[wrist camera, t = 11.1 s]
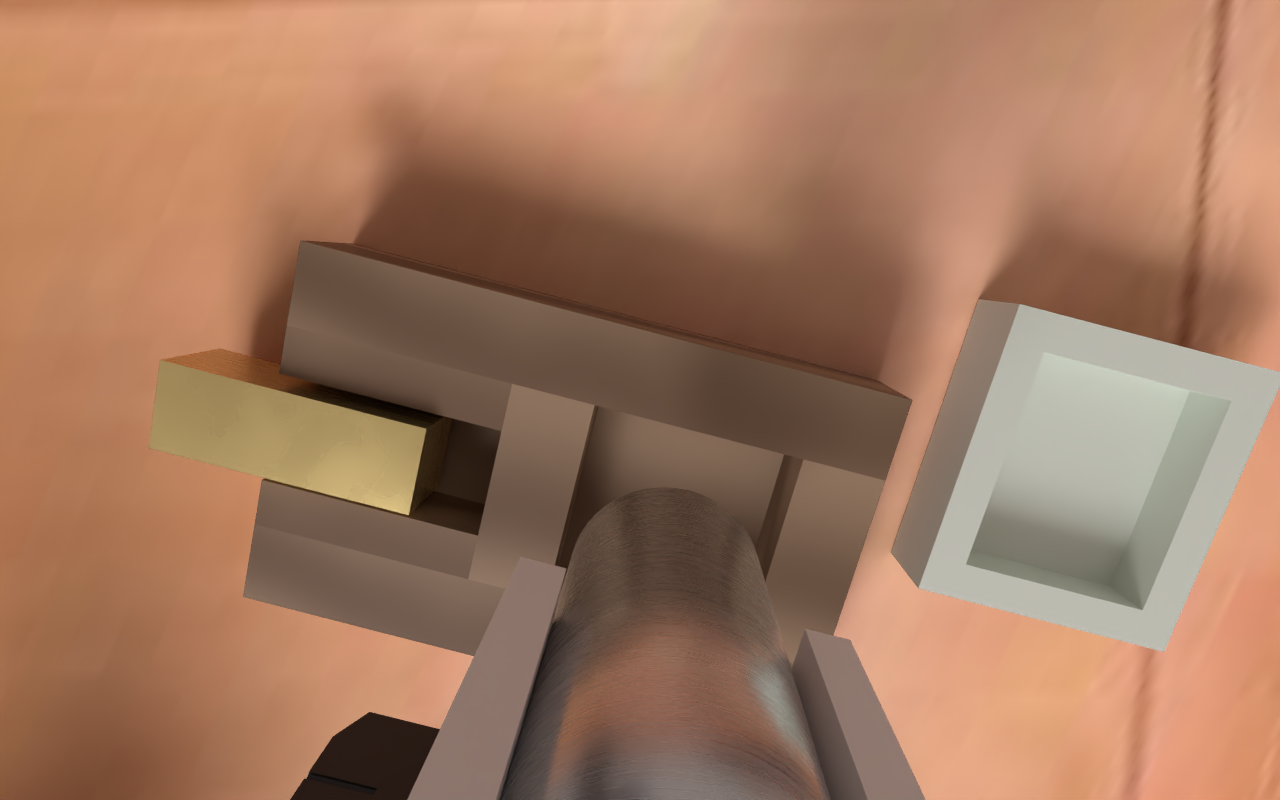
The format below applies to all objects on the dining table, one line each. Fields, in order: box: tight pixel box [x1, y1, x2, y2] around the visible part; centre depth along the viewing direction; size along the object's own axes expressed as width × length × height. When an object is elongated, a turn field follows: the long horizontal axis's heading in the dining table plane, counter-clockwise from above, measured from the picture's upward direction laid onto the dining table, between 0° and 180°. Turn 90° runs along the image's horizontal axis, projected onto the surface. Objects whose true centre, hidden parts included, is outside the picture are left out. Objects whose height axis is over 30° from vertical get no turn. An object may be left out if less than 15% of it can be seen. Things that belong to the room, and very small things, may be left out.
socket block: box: [243, 241, 912, 669], centre depth 21 cm, size 10×16×3 cm, turn 76°
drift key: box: [149, 349, 453, 515], centre depth 20 cm, size 2×7×2 cm, turn 76°
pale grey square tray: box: [891, 299, 1280, 652], centre depth 20 cm, size 8×7×2 cm
